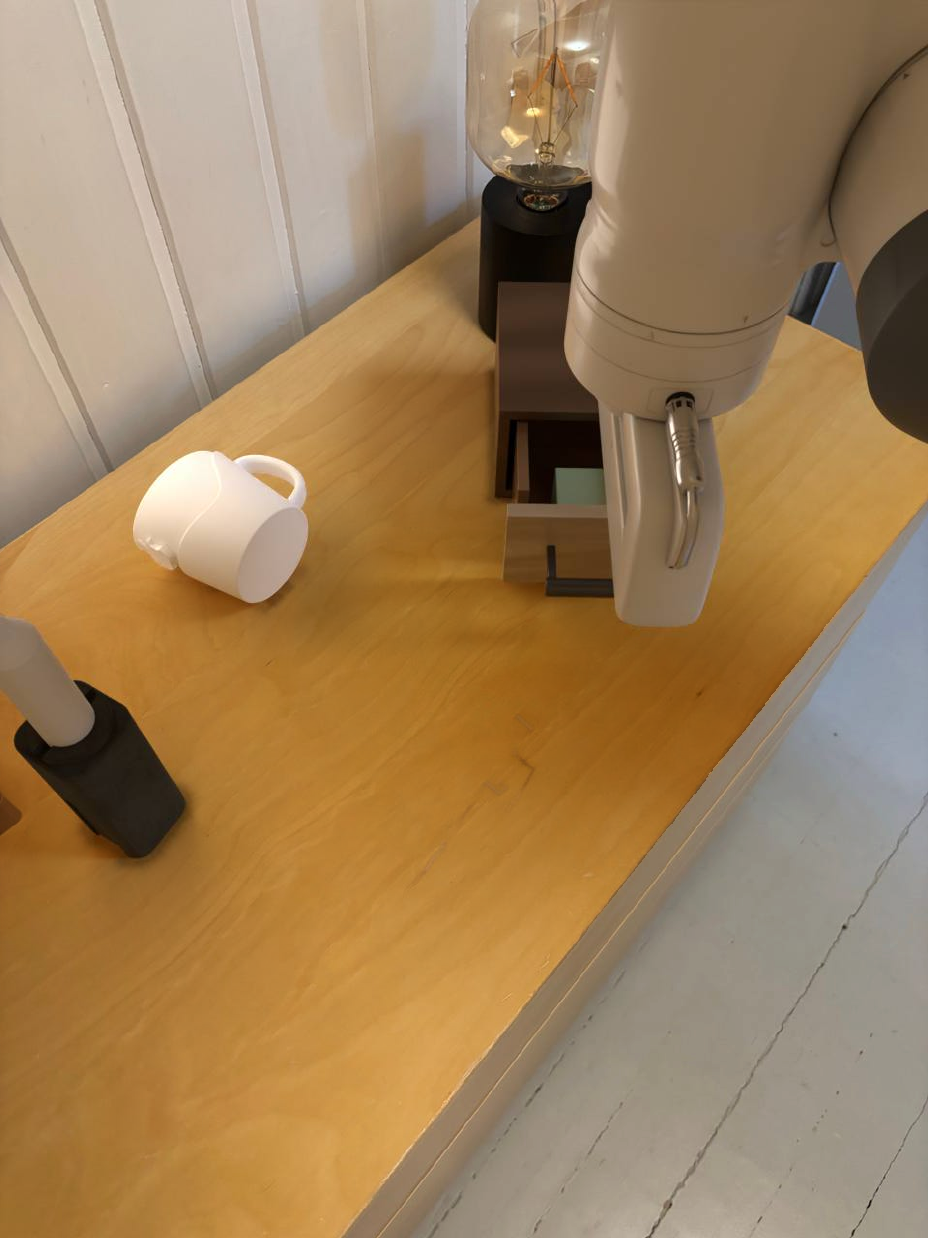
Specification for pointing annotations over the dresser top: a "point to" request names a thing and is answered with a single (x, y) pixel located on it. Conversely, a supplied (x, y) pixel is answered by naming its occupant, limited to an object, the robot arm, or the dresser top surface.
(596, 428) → the drawer
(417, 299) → the dresser top surface
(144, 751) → the candle
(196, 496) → the mug
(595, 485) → the block
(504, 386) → the cabinet
